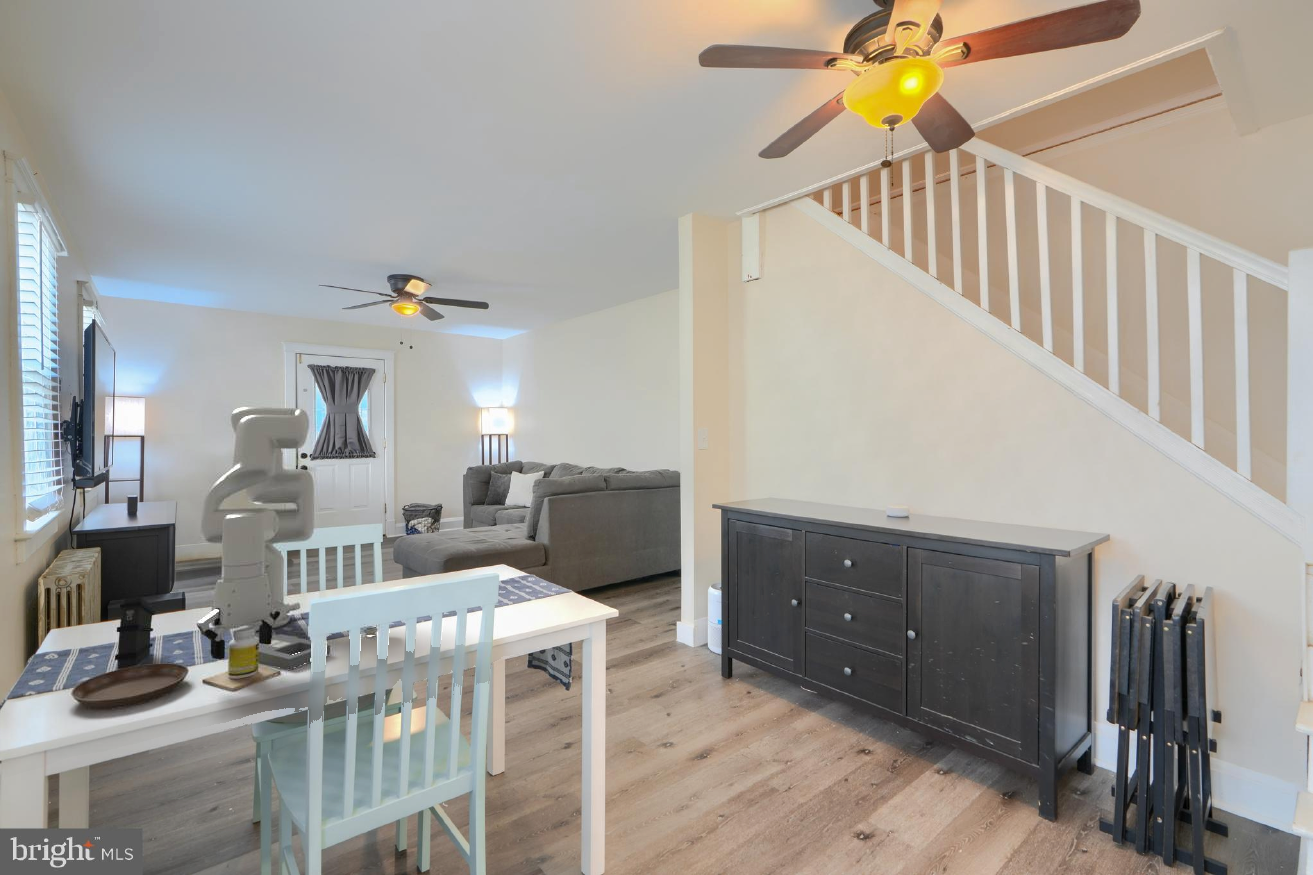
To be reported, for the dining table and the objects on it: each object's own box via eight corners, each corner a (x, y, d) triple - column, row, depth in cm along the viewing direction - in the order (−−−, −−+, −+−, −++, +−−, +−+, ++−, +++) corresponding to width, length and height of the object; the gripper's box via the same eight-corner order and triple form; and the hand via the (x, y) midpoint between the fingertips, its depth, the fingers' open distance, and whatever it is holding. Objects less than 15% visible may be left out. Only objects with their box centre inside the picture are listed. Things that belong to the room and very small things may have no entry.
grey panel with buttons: (279, 643, 149) (280, 631, 149) (330, 655, 142) (330, 642, 142) (238, 657, 140) (238, 644, 140) (289, 670, 133) (289, 656, 133)
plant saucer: (188, 698, 119) (188, 683, 119) (63, 724, 108) (63, 707, 108) (188, 670, 133) (188, 656, 133) (78, 690, 122) (78, 675, 122)
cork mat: (251, 665, 135) (251, 663, 135) (280, 673, 131) (280, 670, 131) (202, 682, 126) (202, 679, 126) (232, 691, 122) (232, 688, 122)
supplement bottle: (260, 674, 128) (261, 629, 128) (230, 681, 125) (230, 634, 125) (256, 667, 132) (256, 623, 132) (226, 674, 129) (226, 628, 129)
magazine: (109, 669, 128) (120, 598, 134) (128, 675, 139) (138, 609, 144) (132, 666, 130) (142, 596, 135) (149, 672, 140) (158, 608, 146)
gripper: (272, 561, 138) (271, 636, 138) (187, 577, 122) (186, 661, 122) (293, 565, 135) (292, 641, 135) (210, 581, 119) (209, 667, 119)
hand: (242, 650), depth 128 cm, fingers open, 9 cm apart
